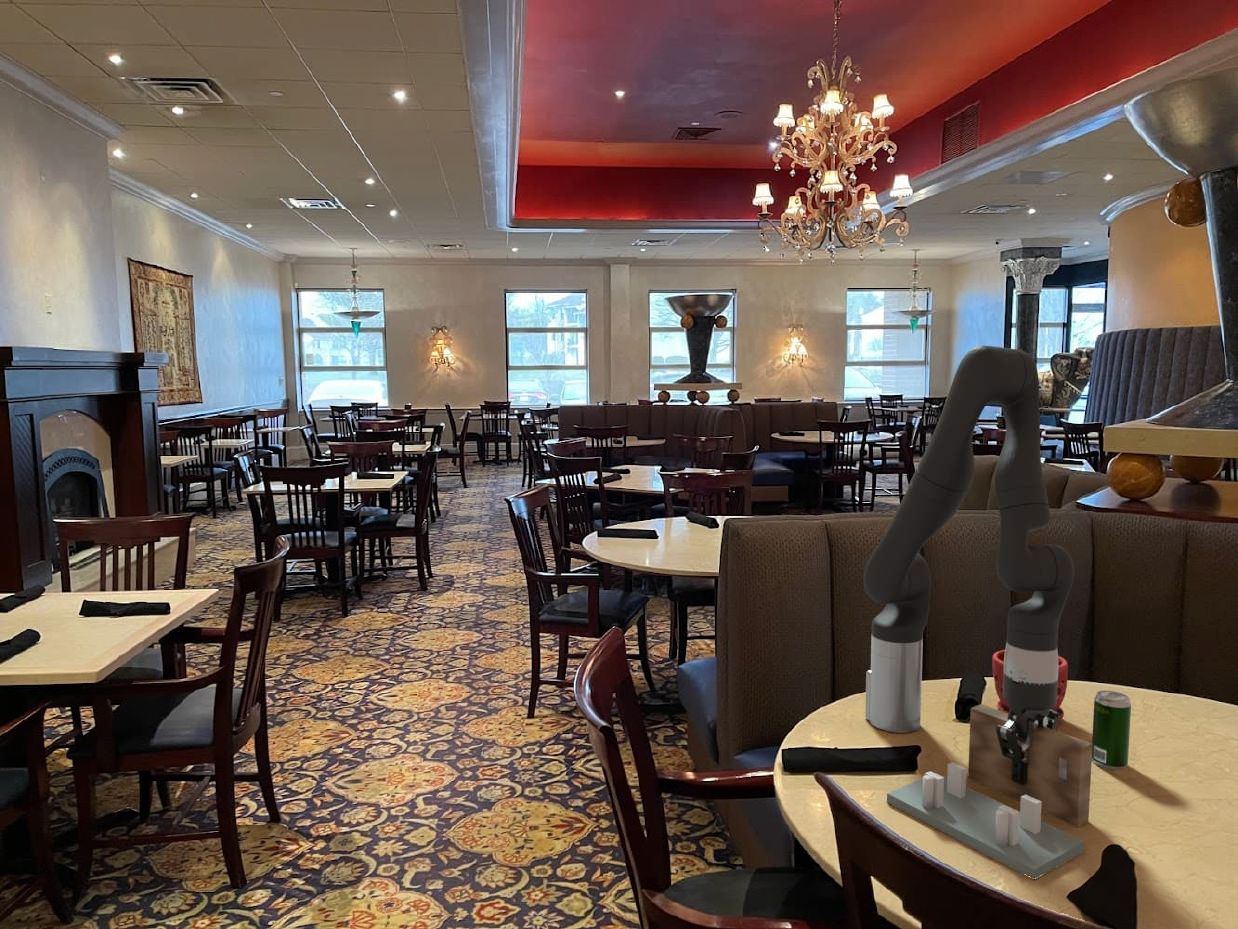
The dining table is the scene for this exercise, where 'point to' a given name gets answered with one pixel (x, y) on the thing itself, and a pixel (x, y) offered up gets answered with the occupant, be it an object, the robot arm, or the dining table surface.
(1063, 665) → the plant pot
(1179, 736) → the dining table surface
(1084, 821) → the wooden board
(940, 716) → the dining table surface
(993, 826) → the pegged base plate
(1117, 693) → the beer can
